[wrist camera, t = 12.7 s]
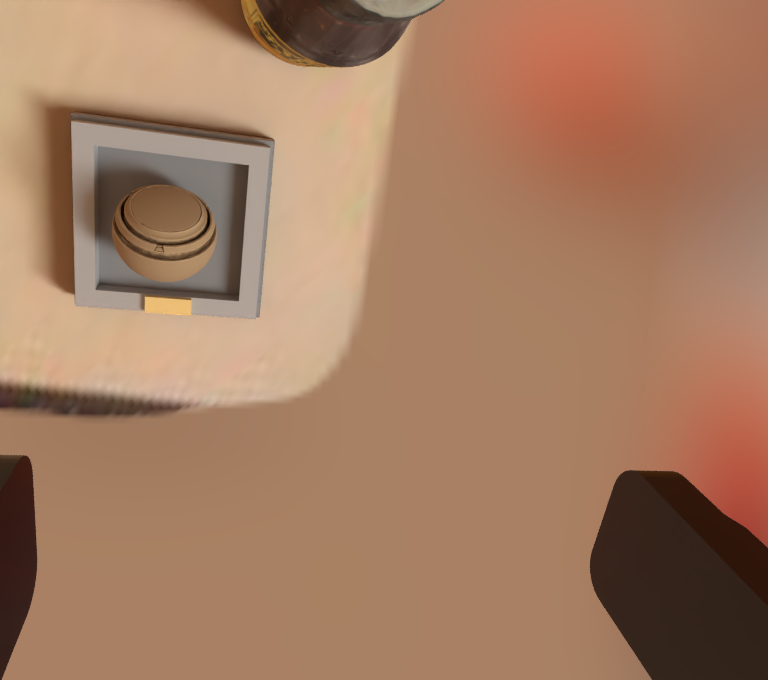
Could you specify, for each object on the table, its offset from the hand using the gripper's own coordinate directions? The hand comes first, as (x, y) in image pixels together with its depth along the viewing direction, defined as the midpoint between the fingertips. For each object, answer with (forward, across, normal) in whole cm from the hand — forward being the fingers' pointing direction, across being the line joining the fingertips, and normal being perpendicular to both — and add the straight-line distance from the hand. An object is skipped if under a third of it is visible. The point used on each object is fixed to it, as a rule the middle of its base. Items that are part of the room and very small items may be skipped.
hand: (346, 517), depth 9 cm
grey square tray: (+30, +5, +3) cm, 31 cm away
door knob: (+29, +5, +3) cm, 30 cm away
